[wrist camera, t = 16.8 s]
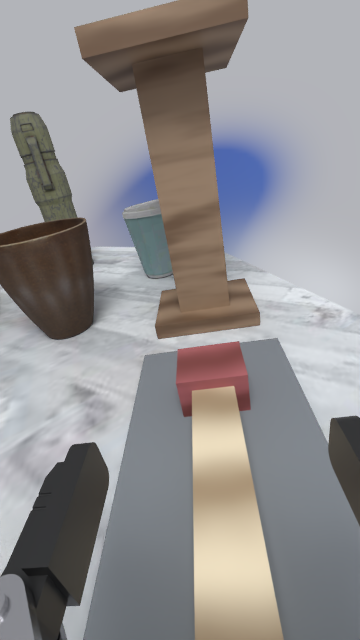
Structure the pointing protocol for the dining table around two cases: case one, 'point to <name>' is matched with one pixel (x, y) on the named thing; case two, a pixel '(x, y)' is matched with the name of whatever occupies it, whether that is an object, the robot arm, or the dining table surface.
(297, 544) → the mat
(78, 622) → the dining table surface
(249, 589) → the bar
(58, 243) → the plant pot
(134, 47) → the brown tall pedestal shape
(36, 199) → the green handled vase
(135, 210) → the disposable coffee cup
